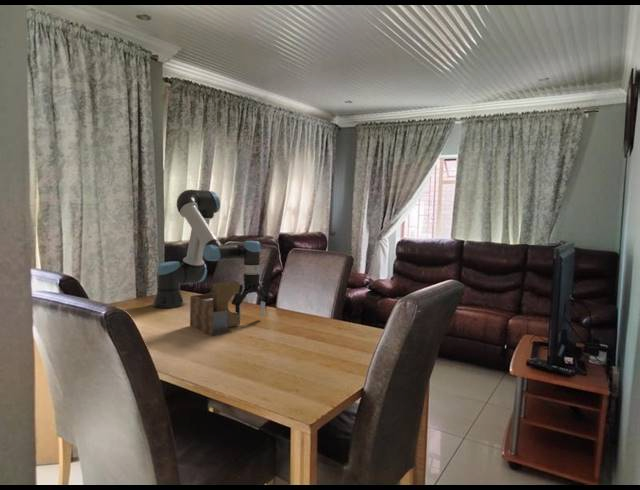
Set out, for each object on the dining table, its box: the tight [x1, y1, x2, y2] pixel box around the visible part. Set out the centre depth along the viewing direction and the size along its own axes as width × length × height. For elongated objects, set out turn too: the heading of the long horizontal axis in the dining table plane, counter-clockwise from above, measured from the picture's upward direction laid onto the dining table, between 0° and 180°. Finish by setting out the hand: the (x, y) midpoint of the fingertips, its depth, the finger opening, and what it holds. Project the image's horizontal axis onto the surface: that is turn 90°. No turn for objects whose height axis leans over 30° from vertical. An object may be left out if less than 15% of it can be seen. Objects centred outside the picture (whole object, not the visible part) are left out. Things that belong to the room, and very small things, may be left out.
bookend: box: [212, 310, 232, 337], centre depth 180 cm, size 5×9×9 cm, turn 133°
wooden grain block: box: [189, 292, 214, 337], centre depth 185 cm, size 18×10×14 cm, turn 43°
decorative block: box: [211, 280, 241, 328], centre depth 190 cm, size 11×6×20 cm, turn 121°
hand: (251, 316), depth 199 cm, fingers open, 13 cm apart
